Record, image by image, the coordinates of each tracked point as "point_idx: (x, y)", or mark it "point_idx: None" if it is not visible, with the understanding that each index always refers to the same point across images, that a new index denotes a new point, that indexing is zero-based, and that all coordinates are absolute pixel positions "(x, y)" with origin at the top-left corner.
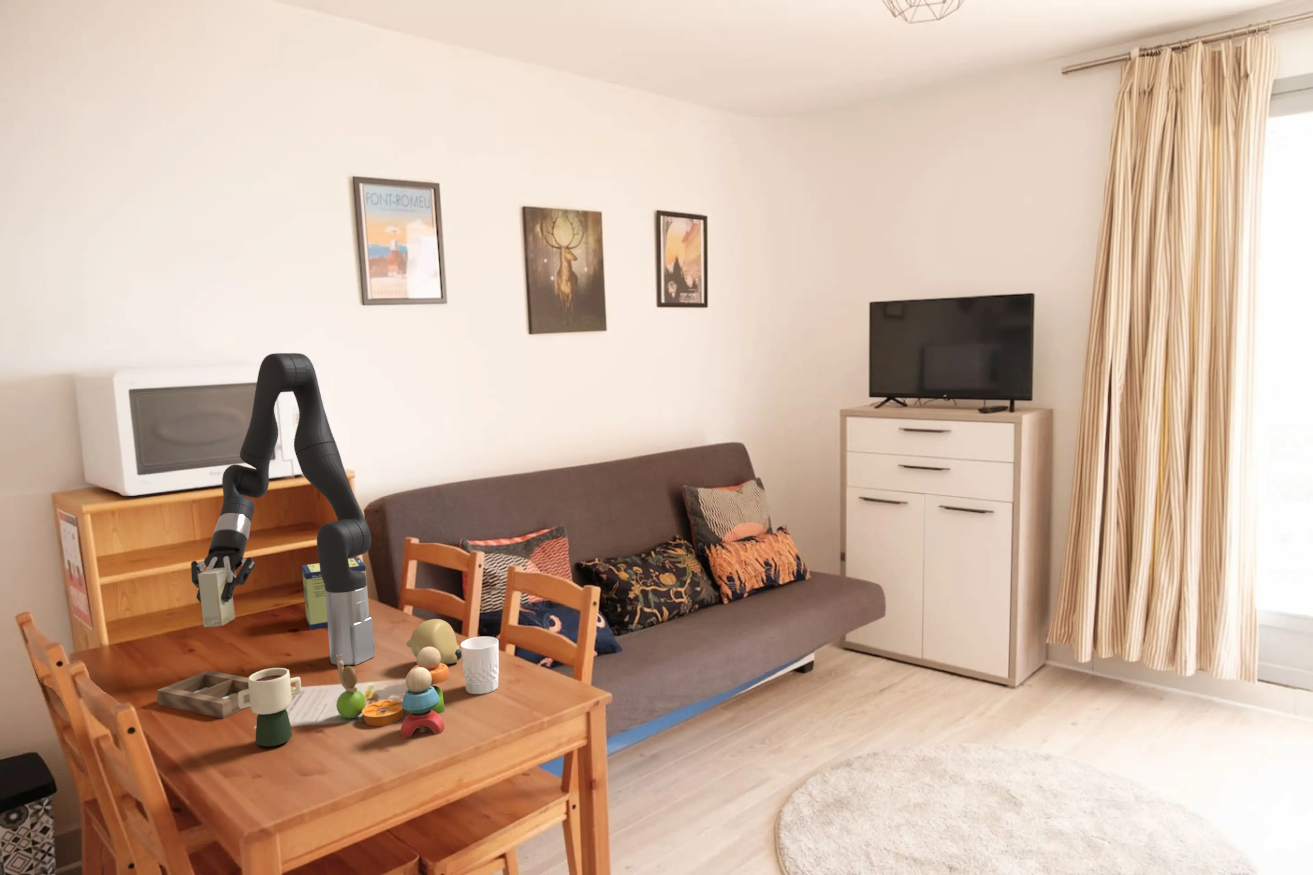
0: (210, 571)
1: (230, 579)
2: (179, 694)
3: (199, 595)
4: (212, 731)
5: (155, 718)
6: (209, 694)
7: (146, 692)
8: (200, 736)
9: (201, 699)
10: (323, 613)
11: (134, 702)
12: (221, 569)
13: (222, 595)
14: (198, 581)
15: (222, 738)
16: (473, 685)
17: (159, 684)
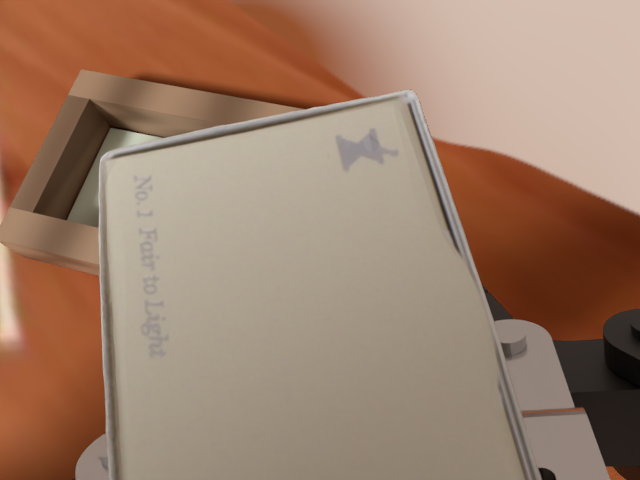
0: (326, 278)
1: (100, 456)
2: (274, 107)
3: None
4: (88, 35)
5: (308, 71)
6: None
7: (525, 229)
8: (103, 11)
9: (169, 86)
10: None
11: (485, 153)
12: (190, 447)
13: None
14: (602, 370)
15: (41, 11)
16: None
17: (547, 304)
